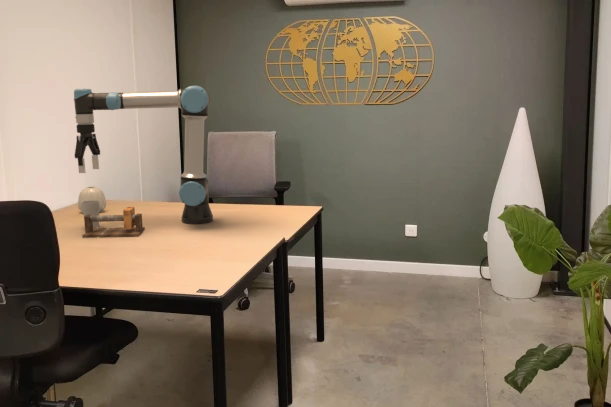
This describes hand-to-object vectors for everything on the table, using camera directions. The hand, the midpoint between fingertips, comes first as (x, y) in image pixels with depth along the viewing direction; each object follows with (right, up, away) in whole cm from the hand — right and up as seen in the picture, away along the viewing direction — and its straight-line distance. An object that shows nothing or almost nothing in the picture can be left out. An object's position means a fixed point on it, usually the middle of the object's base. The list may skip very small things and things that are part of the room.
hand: (89, 171), depth 275 cm
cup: (-2, -26, +10) cm, 28 cm away
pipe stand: (+13, -28, -4) cm, 31 cm away
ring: (+20, -25, -4) cm, 32 cm away
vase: (-14, -20, +46) cm, 52 cm away
